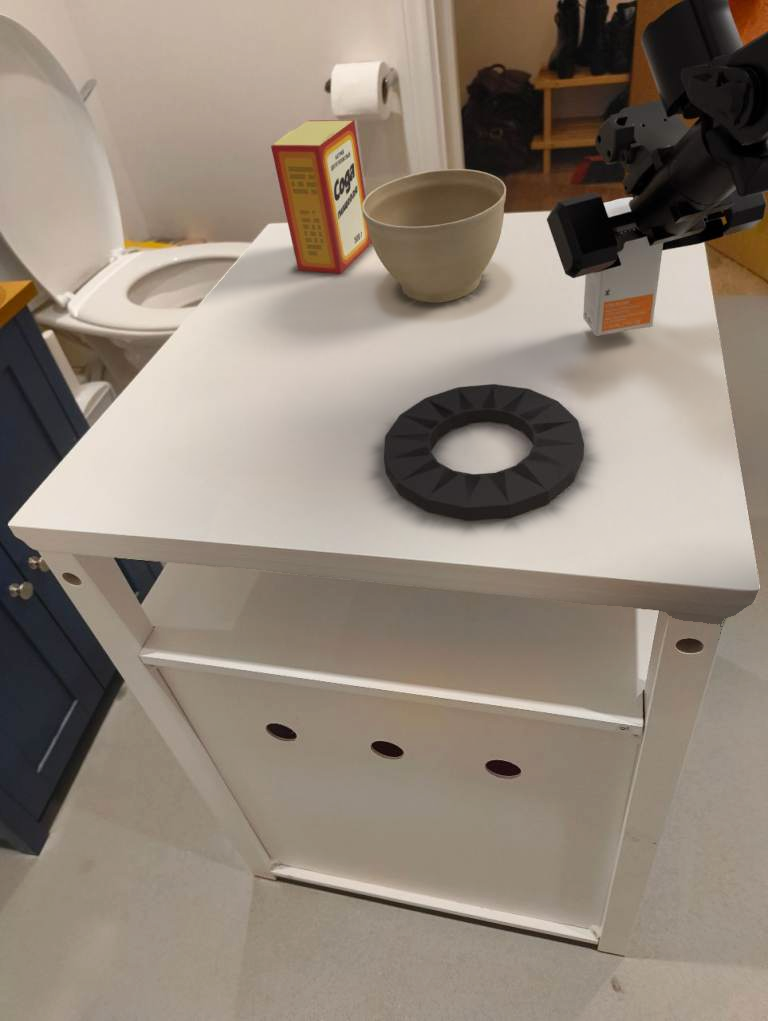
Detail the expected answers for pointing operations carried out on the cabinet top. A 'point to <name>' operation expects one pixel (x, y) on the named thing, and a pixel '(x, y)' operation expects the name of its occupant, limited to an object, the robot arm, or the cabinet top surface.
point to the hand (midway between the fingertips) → (616, 256)
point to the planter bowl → (436, 230)
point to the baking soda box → (323, 194)
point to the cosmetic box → (624, 285)
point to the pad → (488, 492)
